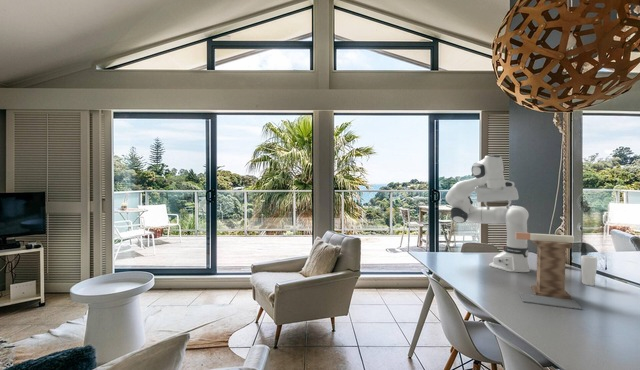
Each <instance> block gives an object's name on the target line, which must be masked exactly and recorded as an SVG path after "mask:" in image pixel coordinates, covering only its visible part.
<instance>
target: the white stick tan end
mask: <svg viewBox="0 0 640 370" xmlns="http://www.w3.org/2000/svg"><path fill="white" fill-rule="evenodd" d="M515 238H516V239H521V240H527V241H532V240H537V241H551V242H566V243H571V244H575V236H574V235H567V234H565V235H564V234H550V233H548V234H547V233H532V232H527V233H525V232H515Z"/></svg>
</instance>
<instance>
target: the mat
mask: <svg viewBox="0 0 640 370" xmlns="http://www.w3.org/2000/svg"><path fill="white" fill-rule="evenodd" d="M519 296H520V298H521V300H522V303H527V304H528V303H529V304H535V305H544V306H550V307H557V306H558V307H559V308H564V307H565V308H566V309H572V308H574V309H573V310H580V311H581V310H583V308H582V307H581V305H579V303H578V302H577V301H576V300H575V299H571V300H570V299H562V298H553V297H545V296H537V295H535V294H530V293H529V294H528V293H519Z"/></svg>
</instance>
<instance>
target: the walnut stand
mask: <svg viewBox="0 0 640 370" xmlns="http://www.w3.org/2000/svg"><path fill="white" fill-rule="evenodd" d="M531 243H533V245H535V246H536V251H537V252H536V285H533V284H531V285H530V288H531V290H532V292H533V293H534V295H537V296H545V297H553V298H562V299H570V300H572V296H571V295H570V293H568V291H567V290H566V289H565V288H566V286H565V285H566V284H565V283H566V249H570V250H572V248H573V243H566V242H551V241H537V240H531Z"/></svg>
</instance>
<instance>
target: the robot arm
mask: <svg viewBox="0 0 640 370" xmlns="http://www.w3.org/2000/svg"><path fill="white" fill-rule="evenodd" d="M505 170H506V167H505V164H504V161H503V158H502V156H501V155H500V154H493V153H492V154H491V153H490V154H486V155H485V156H484V158H482V159H480V160H479V161H477V162H475V163H473V165H472V167H471V174H472V176H473V178H469V179H465V180H460V181H458V182H455V183H454V184H453V185H452V186H451V187H450V188H449V190H448V191H447V193H446V194H445V202H446V203H447V204H448V205H450V206H451V209H450V210H449V211H450V218H451V220H452V221H453V222H454V223H457V224H463V223H466V222H470V223H475V224H483V225H484V224H486V225H487V224H488V225H501V224H503V225H504V224H505V226H506V245H504V246H502V250H503V251H501V252H499V253H498V254H496V255H494V256H493V259H492V262H489V264H488V266H489V267H490V268H491V267H492V268H495V269H499V270H501V271H506V272H508V273H518V272H519V273H529V272H530V271H531V270H530V266H529V265H530V264H529V260H528V257H529V247H528V240H521V239H516V238H515V232H525V233H528V219H529V217H530V214H529V212H528V210H527V209H526V208H525V207H523V206H520V205H516V206H515V205H511V204H512V201H518V200H519V198H520V197H519V192H518V189H517V187H515V182H514V181H509V180H506V179H505V176H504V173H505ZM474 193H476V202H477V203H483V204H484V205H485V206H475V205H473V203H474V202H473V200H472V198H471V195H472V194H474ZM504 201H505V202H506V201H507V203H508V204H507V205H505V206H489V205H487V204H488V202H504Z"/></svg>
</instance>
